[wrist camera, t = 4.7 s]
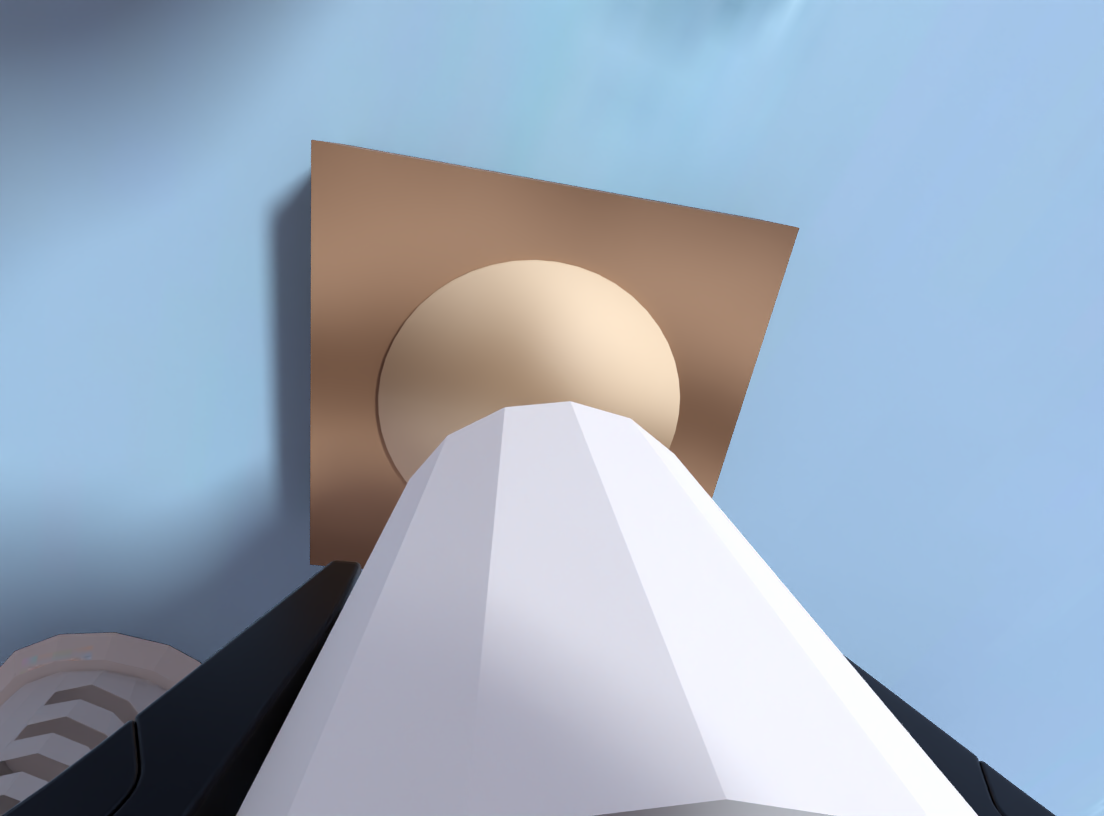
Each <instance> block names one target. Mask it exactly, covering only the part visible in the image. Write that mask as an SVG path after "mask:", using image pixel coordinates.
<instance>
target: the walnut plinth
mask: <svg viewBox="0 0 1104 816" xmlns="http://www.w3.org/2000/svg"><path fill="white" fill-rule="evenodd" d="M798 230H799V228H797V227H792V226H788V225H783V224H778V223H774V222H769V221H764V220H759V219H754V218H748V217H743V216H737V215H732V214H726V213H721V212H715V211H710V210H704V209H699V208H693V207H688V206H682V205H677V204H671V203H666V202H660V201H654V200H649V199H643V198H638V197H632V196H627V195H621V194H616V193H610V192H605V191H599V190H594V189H588V188H583V187H577V186H572V185H566V184H560V183H555V182H549V181H544V180H538V179H533V178H527V177H522V176H516V175H511V174H505V173H500V172H494V171H489V170H483V169H478V168H472V167H466V166H461V165H455V164H450V163H444V162H439V161H433V160H428V159H422V158H417V157H411V156H406V155H400V154H395V153H389V152H383V151H378V150H372V149H367V148H361V147H356V146H350V145H345V144H339V143H331V142H324V141H316V140H311V402H310V565H321V566H327V565H328V564H329V563H330V562H332V561H334V560H342V561H354V562H358V563H360V565H361V569H363V568H364V566H365V564H366V562H367V561H368V559H369V557H370V555H371V553H372V551H373V549H374V547H375V545H376V543H377V541H378V539H379V537H380V535H381V533H382V531H383V529H384V528H385V526H386V524H387V522H388V520H389V518H390V516H391V514H392V512H393V510H394V508H395V506H396V504H397V502H398V500H399V498H400V497H401V495H402V493H403V491H404V489H405V487H406V485H407V483H408V481H409V479H410V478H411V477H412V476H413V475H414V474H415V472H416V471H417V470H418V469H419V468H420V467H421V465H422V464H423V463H424V462H425V461H426V460H427V459H428V457H429V456H430V455H431V454H432V453H433V452H434V451H435V449H436V448H437V447H438V446H439V445H440V444H441V442H442V441H443V440H444V439H445V438H446V437H447V436H448V435H450V434H452V433H454V432H456V431H458V430H460V429H462V428H464V427H466V426H468V425H470V424H472V423H474V422H476V421H478V420H480V419H482V418H484V417H486V416H488V415H490V414H492V413H494V412H496V411H498V410H500V409H502V408H504V407H513V406H523V405H534V404H545V403H556V402H567V401H571V402H575V403H578V404H582V405H585V406H589V407H592V408H596V409H599V410H603V411H606V412H610V413H613V414H617V415H620V416H624V417H627V418H631V419H632V420H633V421H634V422H636V423H637V424H638V425H639V426H640V427H642V428H643V429H644V430H645V431H647V432H648V433H649V434H650V435H652V436H653V437H654V438H655V439H656V440H658V441H659V442H660V443H661V444H663V445H664V446H665V447H666V448H667V449H669V450H670V451H671V452H672V453H674V454H675V455H676V457H677V458H678V459H679V460H680V461H681V463H682V464H683V465H684V466H685V467H686V469H687V470H688V471H689V472H690V473H691V475H692V476H693V477H694V478H695V479H696V480H697V482H698V483H699V484H700V485H701V486H702V488H703V489H704V490H705V491H706V492H707V494H708V495H709V496H710V497H711V498H712V496H713V493H714V490H715V487H716V484H717V481H718V478H719V475H720V472H721V468H722V465H723V462H724V459H725V456H726V453H727V450H728V447H729V444H730V441H731V437H732V434H733V431H734V428H735V425H736V422H737V419H738V416H739V413H740V410H741V407H742V403H743V400H744V397H745V394H746V391H747V388H748V385H749V382H750V379H751V376H752V373H753V369H754V366H755V363H756V360H757V357H758V354H759V351H760V348H761V345H762V342H763V339H764V335H765V332H766V329H767V326H768V323H769V320H770V317H771V314H772V311H773V308H774V305H775V301H776V298H777V295H778V292H779V289H780V286H781V283H782V280H783V277H784V274H785V271H786V267H787V264H788V261H789V258H790V255H791V252H792V249H793V246H794V243H795V240H796V237H797V233H798Z"/></svg>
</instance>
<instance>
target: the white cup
mask: <svg viewBox="0 0 1104 816" xmlns="http://www.w3.org/2000/svg"><path fill="white" fill-rule="evenodd" d="M236 816H978V815H977V814H976V813H975V811H974V810H973V809H972V808H971V807H970V805H969V804H968V803H967V802H966V801H965V799H964V798H963V797H962V796H961V795H960V794H959V792H958V791H957V790H956V789H955V788H954V786H953V785H952V784H951V783H950V782H949V780H948V779H947V778H946V777H945V776H944V774H943V773H942V772H941V771H940V770H939V769H938V767H937V766H936V765H935V764H934V763H933V761H932V760H931V759H930V758H929V757H928V755H927V754H926V753H925V752H924V751H923V749H922V748H921V747H920V746H919V745H918V744H917V742H916V741H915V740H914V739H913V738H912V736H911V735H910V734H909V733H908V732H907V730H906V729H905V728H904V727H903V726H902V724H901V723H900V722H899V721H898V720H897V719H896V717H895V716H894V715H893V714H892V713H891V711H890V710H889V709H888V708H887V707H886V705H885V704H884V703H883V702H882V701H881V699H880V698H879V697H878V696H877V695H876V694H875V692H874V691H873V690H872V689H871V688H870V686H869V685H868V684H867V683H866V682H865V680H864V679H863V678H862V677H861V676H860V675H859V673H858V672H857V671H856V670H855V669H854V667H853V666H852V665H851V664H850V663H849V661H848V660H847V659H846V658H845V657H844V655H843V654H842V653H841V652H840V651H839V650H838V648H837V647H836V646H835V645H834V644H833V642H832V641H831V640H830V639H829V638H828V636H827V635H826V634H825V633H824V632H823V630H822V629H821V628H820V627H819V626H818V625H817V623H816V622H815V621H814V620H813V619H812V617H811V616H810V615H809V614H808V613H807V611H806V610H805V609H804V608H803V607H802V605H801V604H800V603H799V602H798V601H797V600H796V598H795V597H794V596H793V595H792V594H791V592H790V591H789V590H788V589H787V588H786V586H785V585H784V584H783V583H782V582H781V580H780V579H779V578H778V577H777V576H776V575H775V573H774V572H773V571H772V570H771V569H770V567H769V566H768V565H767V564H766V563H765V561H764V560H763V559H762V558H761V557H760V555H759V554H758V553H757V552H756V551H755V550H754V548H753V547H752V546H751V545H750V544H749V542H748V541H747V540H746V539H745V538H744V536H743V535H742V534H741V533H740V532H739V530H738V529H737V528H736V527H735V526H734V525H733V523H732V522H731V521H730V520H729V519H728V517H727V516H726V515H725V514H724V513H723V511H722V510H721V509H720V508H719V507H718V505H717V504H716V503H715V502H714V501H713V500H712V498H711V497H710V496H709V495H708V494H707V492H706V491H705V490H704V489H703V488H702V486H701V485H700V484H699V483H698V482H697V480H696V479H695V478H694V477H693V476H692V475H691V473H690V472H689V471H688V470H687V469H686V467H685V466H684V465H683V464H682V463H681V461H680V460H679V459H678V458H677V457H676V455H675V454H674V453H672V452H671V451H670V450H669V449H667V448H666V447H665V446H664V445H663V444H661V443H660V442H659V441H658V440H656V439H655V438H654V437H653V436H652V435H650V434H649V433H648V432H647V431H645V430H644V429H643V428H642V427H640V426H639V425H638V424H637V423H636V422H634V421H633V420H632V419H631V418H627V417H624V416H620V415H617V414H613V413H610V412H606V411H603V410H599V409H596V408H592V407H589V406H585V405H582V404H578V403H575V402H571V401H567V402H556V403H545V404H534V405H523V406H513V407H504V408H502V409H500V410H498V411H496V412H494V413H492V414H490V415H488V416H486V417H484V418H482V419H480V420H478V421H476V422H474V423H472V424H470V425H468V426H466V427H464V428H462V429H460V430H458V431H456V432H454V433H452V434H450V435H448V436H447V437H446V438H445V439H444V440H443V441H442V442H441V444H440V445H439V446H438V447H437V448H436V449H435V451H434V452H433V453H432V454H431V455H430V456H429V457H428V459H427V460H426V461H425V462H424V463H423V464H422V465H421V467H420V468H419V469H418V470H417V471H416V472H415V474H414V475H413V476H412V477H411V478H410V479H409V481H408V483H407V485H406V487H405V489H404V491H403V493H402V495H401V497H400V498H399V500H398V502H397V504H396V506H395V508H394V510H393V512H392V514H391V516H390V518H389V520H388V522H387V524H386V526H385V528H384V529H383V531H382V533H381V535H380V537H379V539H378V541H377V543H376V545H375V547H374V549H373V551H372V553H371V555H370V557H369V559H368V561H367V562H366V564H365V566H364V568H363V570H362V572H361V574H360V576H359V578H358V580H357V582H356V584H355V586H354V588H353V590H352V592H351V594H350V595H349V597H348V599H347V601H346V603H345V605H344V607H343V609H342V611H341V613H340V615H339V617H338V619H337V621H336V623H335V625H334V627H333V628H332V630H331V632H330V634H329V636H328V638H327V640H326V642H325V644H324V646H323V648H322V650H321V652H320V654H319V656H318V658H317V659H316V661H315V663H314V665H313V667H312V669H311V671H310V673H309V675H308V677H307V679H306V681H305V683H304V685H303V687H302V689H301V691H300V692H299V694H298V696H297V698H296V700H295V702H294V704H293V706H292V708H291V710H290V712H289V714H288V716H287V718H286V720H285V722H284V724H283V725H282V727H281V729H280V731H279V733H278V735H277V737H276V739H275V741H274V743H273V745H272V747H271V749H270V751H269V753H268V755H267V757H266V758H265V760H264V762H263V764H262V766H261V768H260V770H259V772H258V774H257V776H256V778H255V780H254V782H253V784H252V786H251V788H250V789H249V791H248V793H247V795H246V797H245V799H244V801H243V803H242V805H241V807H240V809H239V811H238V813H237V815H236Z"/></svg>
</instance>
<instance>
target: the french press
mask: <svg viewBox="0 0 1104 816" xmlns="http://www.w3.org/2000/svg"><path fill="white" fill-rule="evenodd" d="M201 664H202V663H200V662H198V661H197V660H195V659H193V658H191V657H189V656H187V655H186V654H184V653H182V652H180V651H178V650H177V649H175V648H173V647H171V646H169V645H165V644H161V643H157V642H153V641H148V640H144V639H140V638H136V637H131V636H127V635H123V634H119V633H114V632H113V633H85V634H59V635H56V636H54V637H51V638H48V639H46V640H43V641H41V642H38V643H35V644H33V645H30V646H27V647H25V648H22V649H19V650H17V651H15V652H14V653H13V654H12V655H11V656H10V657H9V658H8V659H7V660H6V661H5V662H4V664H3V665H2V666H1V667H0V816H1V815H3V814H4V813H6V812H7V811H8V810H10V809H11V808H13V807H14V806H16V805H17V804H18V803H20V802H21V801H23V800H24V799H25V798H27V797H28V796H30V795H31V794H33V793H34V792H35V791H37V790H38V789H40V788H41V787H43V786H44V785H45V784H47V783H48V782H50V781H51V780H52V779H54V778H55V777H56V776H58V775H59V774H60V773H62V772H63V771H64V770H66V769H67V768H68V767H70V766H71V765H72V764H73V763H75V762H76V761H77V760H79V759H80V758H81V757H83V756H84V755H85V754H87V753H88V752H89V751H91V750H92V749H93V748H95V747H96V746H97V745H99V744H100V743H101V742H102V741H104V740H105V739H106V738H108V737H109V736H110V735H111V734H113V733H114V732H115V731H116V730H118V729H119V728H120V727H122V726H123V725H124V724H125V723H127V722H128V721H130V720H133V721H135V717H136V715H137V714H138V713H140V712H141V711H142V710H144V709H145V708H146V707H147V706H149V705H150V704H151V703H152V702H154V701H155V700H156V699H158V698H159V697H160V696H161V695H163V694H164V693H165V692H166V691H168V690H169V689H170V688H171V687H173V686H174V685H175V684H177V683H178V682H179V681H180V680H182V679H183V678H184V677H185V676H187V675H188V674H189V673H191V672H192V671H193V670H194V669H196V668H197V667H198V666H199V665H201Z"/></svg>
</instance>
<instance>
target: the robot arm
mask: <svg viewBox="0 0 1104 816" xmlns="http://www.w3.org/2000/svg"><path fill="white" fill-rule="evenodd" d="M360 574H361V565H360V563H358V562H354V561H342V560H334V561H332V562H330V563H329V564H328V565H327V566H325V567H324V568H323V569H321V570H320V571H319V572H318V573H316V574H315V575H314V576H313V577H311V578H310V579H309V580H307V581H306V582H305V583H304V584H302V585H301V586H300V587H299V588H297V589H296V590H295V591H293V592H292V593H291V594H290V595H288V596H287V597H286V598H285V599H283V600H282V601H281V602H279V603H278V604H277V605H276V606H274V607H273V608H272V609H271V610H269V611H268V612H267V613H266V614H264V615H263V616H262V617H260V618H259V619H258V620H257V621H255V622H254V623H253V624H252V625H250V626H249V627H248V628H246V629H245V630H244V631H243V632H241V633H240V634H239V635H238V636H236V637H235V638H234V639H232V640H231V641H230V642H229V643H227V644H226V645H225V646H224V647H222V648H221V649H220V650H218V651H217V652H216V653H215V654H213V655H212V656H211V657H210V658H208V659H207V660H206V661H205V662H203V663H202V664H201V665H199V666H198V667H197V668H196V669H194V670H193V671H192V672H191V673H189V674H188V675H187V676H185V677H184V678H183V679H182V680H180V681H179V682H178V683H177V684H175V685H174V686H173V687H171V688H170V689H169V690H168V691H166V692H165V693H164V694H163V695H161V696H160V697H159V698H158V699H156V700H155V701H154V702H152V703H151V704H150V705H149V706H147V707H146V708H145V709H144V710H142V711H141V712H140V713H138V714H137V715H136V717H135V721H133V720H130V721H128V722H127V723H125V724H124V725H123V726H122V727H120V728H119V729H118V730H116V731H115V732H114V733H113V734H111V735H110V736H109V737H108V738H106V739H105V740H104V741H102V742H101V743H100V744H99V745H97V746H96V747H95V748H93V749H92V750H91V751H89V752H88V753H87V754H85V755H84V756H83V757H81V758H80V759H79V760H77V761H76V762H75V763H73V764H72V765H71V766H70V767H68V768H67V769H66V770H64V771H63V772H62V773H60V774H59V775H58V776H56V777H55V778H54V779H52V780H51V781H50V782H48V783H47V784H45V785H44V786H43V787H41V788H40V789H38V790H37V791H35V792H34V793H33V794H31V795H30V796H28V797H27V798H25V799H24V800H23V801H21V802H20V803H18V804H17V805H16V806H14V807H13V808H11V809H10V810H8V811H7V812H6V813H4V814H3V815H1V816H236V815H237V813H238V811H239V809H240V807H241V805H242V803H243V801H244V799H245V797H246V795H247V793H248V791H249V789H250V788H251V786H252V784H253V782H254V780H255V778H256V776H257V774H258V772H259V770H260V768H261V766H262V764H263V762H264V760H265V758H266V757H267V755H268V753H269V751H270V749H271V747H272V745H273V743H274V741H275V739H276V737H277V735H278V733H279V731H280V729H281V727H282V725H283V724H284V722H285V720H286V718H287V716H288V714H289V712H290V710H291V708H292V706H293V704H294V702H295V700H296V698H297V696H298V694H299V692H300V691H301V689H302V687H303V685H304V683H305V681H306V679H307V677H308V675H309V673H310V671H311V669H312V667H313V665H314V663H315V661H316V659H317V658H318V656H319V654H320V652H321V650H322V648H323V646H324V644H325V642H326V640H327V638H328V636H329V634H330V632H331V630H332V628H333V627H334V625H335V623H336V621H337V619H338V617H339V615H340V613H341V611H342V609H343V607H344V605H345V603H346V601H347V599H348V597H349V595H350V594H351V592H352V590H353V588H354V586H355V584H356V582H357V580H358V578H359V576H360ZM844 657H845V656H844ZM845 658H846V659H847V660H848V661H849V663H850V664H851V665H852V666H853V667H854V669H855V670H856V671H857V672H858V673H859V675H860V676H861V677H862V678H863V679H864V680H865V682H866V683H867V684H868V685H869V686H870V688H871V689H872V690H873V691H874V692H875V694H876V695H877V696H878V697H879V698H880V699H881V701H882V702H883V703H884V704H885V705H886V707H887V708H888V709H889V710H890V711H891V713H892V714H893V715H894V716H895V717H896V719H897V720H898V721H899V722H900V723H901V724H902V726H903V727H904V728H905V729H906V730H907V732H908V733H909V734H910V735H911V736H912V738H913V739H914V740H915V741H916V742H917V744H918V745H919V746H920V747H921V748H922V749H923V751H924V752H925V753H926V754H927V755H928V757H929V758H930V759H931V760H932V761H933V763H934V764H935V765H936V766H937V767H938V769H939V770H940V771H941V772H942V773H943V774H944V776H945V777H946V778H947V779H948V780H949V782H950V783H951V784H952V785H953V786H954V788H955V789H956V790H957V791H958V792H959V794H960V795H961V796H962V797H963V798H964V799H965V801H966V802H967V803H968V804H969V805H970V807H971V808H972V809H973V810H974V811H975V813H976V814H977V815H978V816H1055V815H1054V814H1053V813H1051V812H1050V811H1049V810H1047V809H1046V808H1045V807H1043V806H1042V805H1041V804H1039V803H1038V802H1037V801H1035V800H1034V799H1032V798H1031V797H1030V796H1028V795H1027V794H1026V793H1024V792H1023V791H1022V790H1020V789H1019V788H1018V787H1016V786H1015V785H1014V784H1012V783H1011V782H1010V781H1008V780H1007V779H1006V778H1004V777H1003V776H1002V775H1001V774H999V773H998V772H997V771H995V770H994V769H993V768H991V767H990V766H989V765H988V764H986V763H985V762H983V761H979V760H978V758H977V756H975V755H974V754H973V753H972V752H970V751H969V750H968V749H966V748H965V747H964V746H962V745H961V744H960V743H958V742H957V741H956V740H954V739H953V738H952V737H951V736H949V735H948V734H947V733H945V732H944V731H943V730H941V729H940V728H939V727H937V726H936V725H935V724H933V723H932V722H931V721H930V720H928V719H927V718H926V717H924V716H923V715H922V714H920V713H919V712H918V711H916V710H915V709H914V708H912V707H911V706H910V705H909V704H907V703H906V702H905V701H903V700H902V699H901V698H899V697H898V696H897V695H895V694H894V693H893V692H891V691H890V690H889V689H887V688H886V687H885V686H884V685H882V684H881V683H880V682H878V681H877V680H876V679H874V678H873V677H872V676H870V675H869V674H868V673H866V672H865V671H864V670H863V669H861V668H860V667H859V666H857V665H856V664H855V663H853V662H852V661H851V660H849V659H848V658H847V657H845Z"/></svg>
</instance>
